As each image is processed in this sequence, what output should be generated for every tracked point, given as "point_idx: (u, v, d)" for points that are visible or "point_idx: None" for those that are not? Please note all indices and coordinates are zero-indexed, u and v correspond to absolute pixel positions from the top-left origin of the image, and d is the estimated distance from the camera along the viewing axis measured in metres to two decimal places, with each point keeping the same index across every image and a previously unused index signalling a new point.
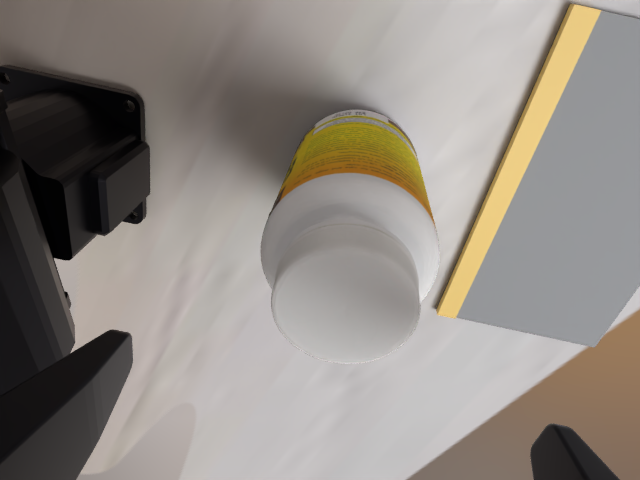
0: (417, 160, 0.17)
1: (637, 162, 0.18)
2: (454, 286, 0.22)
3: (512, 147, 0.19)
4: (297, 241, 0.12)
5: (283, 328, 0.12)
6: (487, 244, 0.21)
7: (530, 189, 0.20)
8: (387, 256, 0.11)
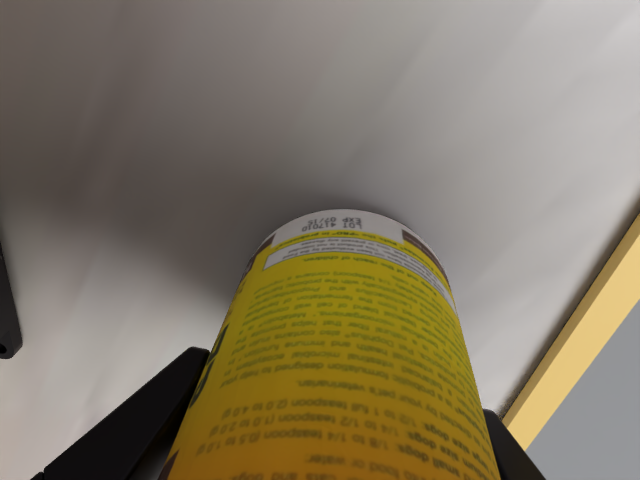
0: (455, 311, 0.10)
1: None
2: None
3: (615, 272, 0.11)
4: None
5: None
6: (555, 401, 0.13)
7: (636, 332, 0.12)
8: None
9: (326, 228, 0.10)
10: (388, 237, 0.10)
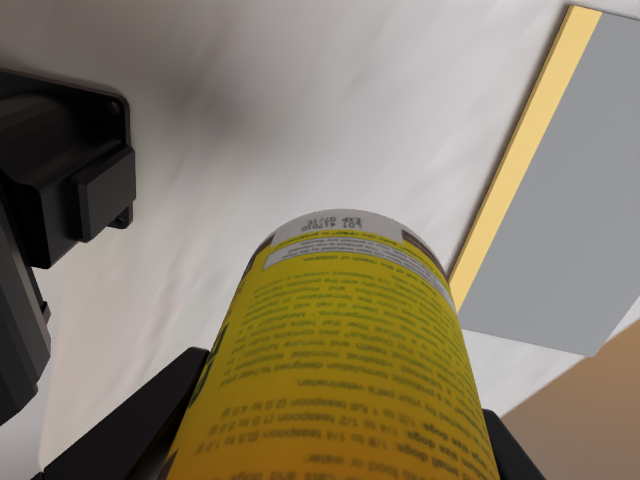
0: (455, 311, 0.10)
1: (638, 169, 0.18)
2: None
3: (509, 153, 0.18)
4: None
5: None
6: (483, 251, 0.21)
7: (528, 196, 0.19)
8: None
9: (326, 228, 0.10)
10: (388, 237, 0.10)
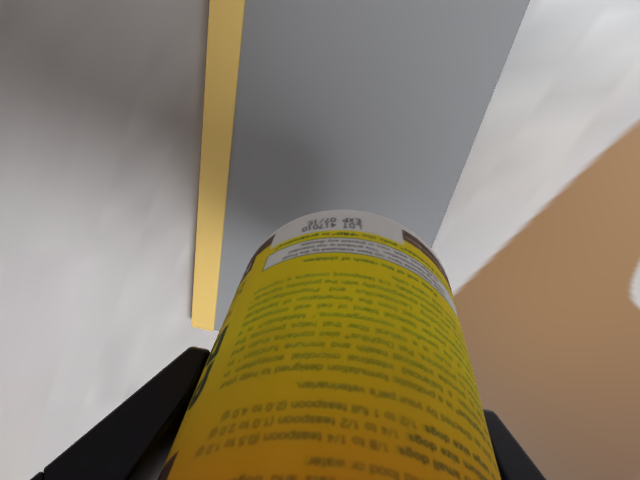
0: (456, 312, 0.10)
1: (363, 136, 0.14)
2: (198, 292, 0.18)
3: (204, 116, 0.14)
4: None
5: None
6: (219, 240, 0.17)
7: (246, 171, 0.15)
8: None
9: (326, 228, 0.10)
10: (388, 237, 0.10)
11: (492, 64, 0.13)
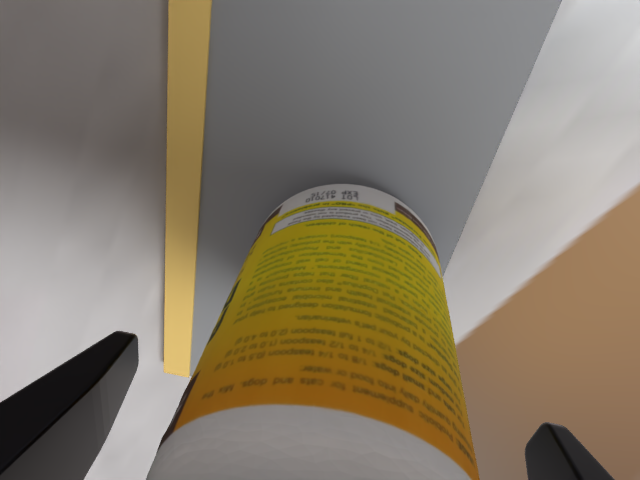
0: (440, 274, 0.11)
1: (356, 164, 0.12)
2: (169, 336, 0.16)
3: (168, 140, 0.12)
4: None
5: None
6: (192, 280, 0.15)
7: (220, 204, 0.13)
8: None
9: (327, 199, 0.11)
10: (381, 208, 0.11)
11: (512, 81, 0.11)
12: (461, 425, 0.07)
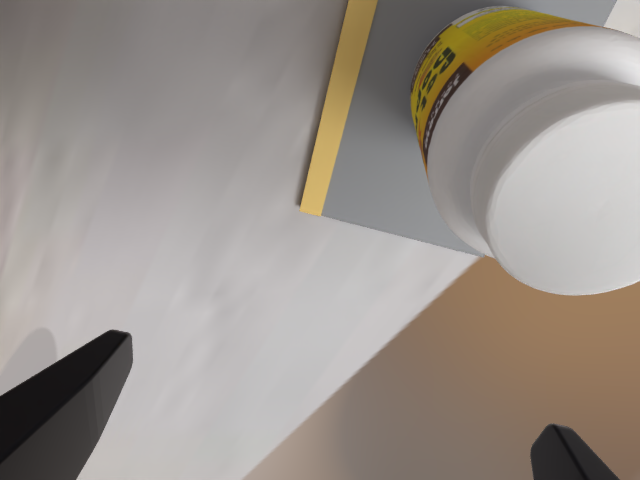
0: None
1: None
2: (313, 172, 0.19)
3: None
4: (531, 108, 0.08)
5: (497, 236, 0.08)
6: (345, 113, 0.18)
7: (385, 35, 0.16)
8: None
9: (497, 8, 0.14)
10: None
11: None
12: None
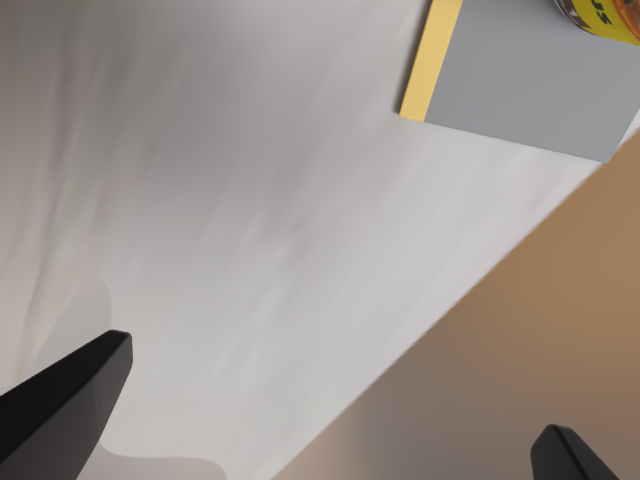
0: None
1: None
2: (419, 65, 0.17)
3: None
4: None
5: None
6: None
7: None
8: None
9: None
10: None
11: None
12: None
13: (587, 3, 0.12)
